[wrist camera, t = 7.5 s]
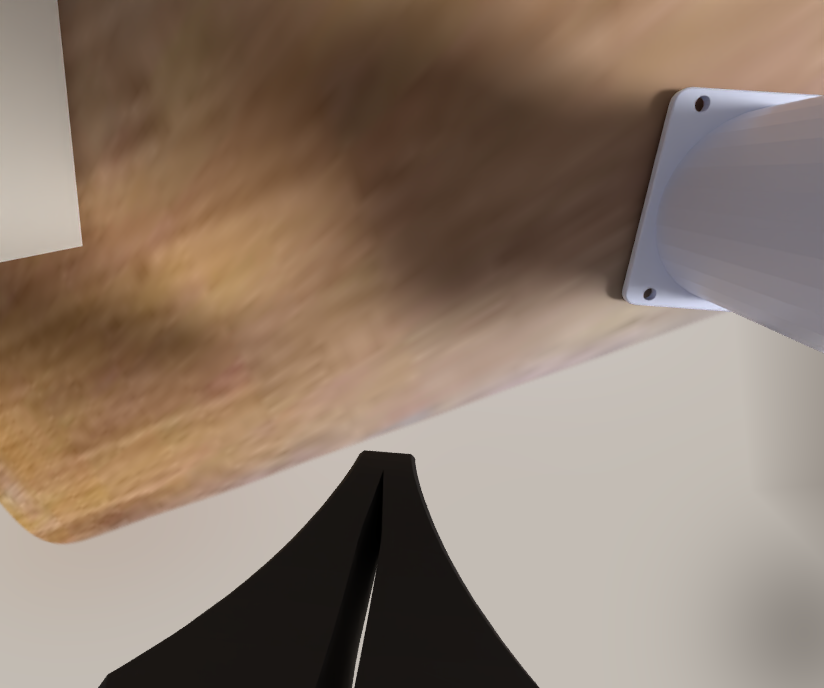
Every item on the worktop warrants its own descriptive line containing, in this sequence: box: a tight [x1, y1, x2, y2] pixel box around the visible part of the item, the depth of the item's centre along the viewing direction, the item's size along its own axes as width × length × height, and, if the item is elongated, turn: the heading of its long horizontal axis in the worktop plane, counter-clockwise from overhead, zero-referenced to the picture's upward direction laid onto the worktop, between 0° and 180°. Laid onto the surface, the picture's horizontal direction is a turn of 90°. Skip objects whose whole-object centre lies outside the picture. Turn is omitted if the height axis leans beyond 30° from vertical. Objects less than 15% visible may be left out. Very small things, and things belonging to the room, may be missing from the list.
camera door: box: [0, 0, 83, 262], centre depth 15 cm, size 10×1×4 cm, turn 169°
